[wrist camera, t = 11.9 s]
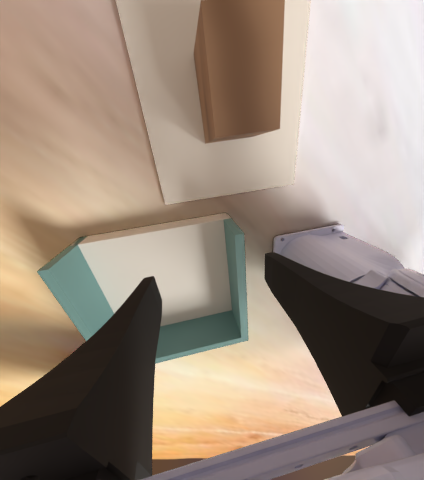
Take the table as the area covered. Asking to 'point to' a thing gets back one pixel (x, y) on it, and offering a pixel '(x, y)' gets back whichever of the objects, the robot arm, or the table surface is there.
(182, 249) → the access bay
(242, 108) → the walnut block
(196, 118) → the mat
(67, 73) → the table surface
